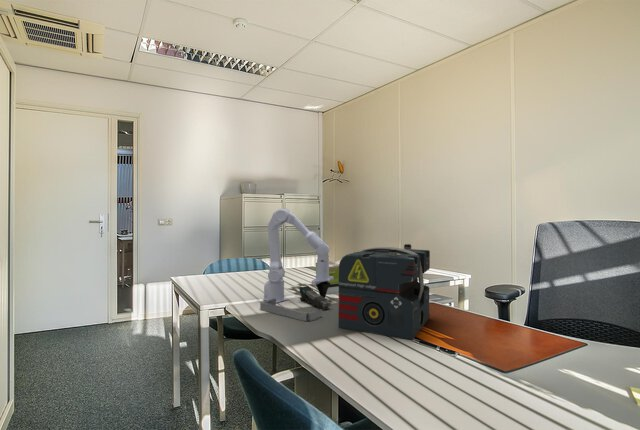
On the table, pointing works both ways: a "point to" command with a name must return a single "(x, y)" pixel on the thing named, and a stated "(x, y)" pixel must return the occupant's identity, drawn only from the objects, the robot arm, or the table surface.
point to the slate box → (289, 311)
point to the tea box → (335, 273)
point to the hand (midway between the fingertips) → (322, 297)
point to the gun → (314, 298)
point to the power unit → (384, 291)
